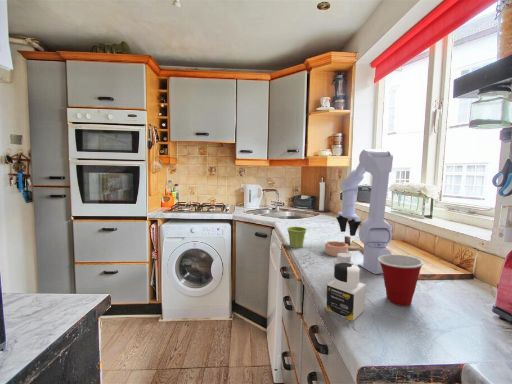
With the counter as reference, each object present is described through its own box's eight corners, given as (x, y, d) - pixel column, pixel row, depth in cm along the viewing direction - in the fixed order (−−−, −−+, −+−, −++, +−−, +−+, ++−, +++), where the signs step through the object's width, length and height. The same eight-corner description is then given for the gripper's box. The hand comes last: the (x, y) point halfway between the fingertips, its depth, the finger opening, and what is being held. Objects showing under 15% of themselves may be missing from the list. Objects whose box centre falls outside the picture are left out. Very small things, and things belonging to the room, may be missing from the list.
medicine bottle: (325, 310, 64) (327, 265, 63) (339, 300, 69) (340, 258, 68) (352, 322, 59) (354, 273, 58) (364, 310, 64) (366, 265, 63)
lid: (365, 249, 113) (365, 239, 113) (343, 251, 110) (344, 240, 110) (350, 243, 124) (350, 233, 123) (330, 244, 121) (330, 234, 121)
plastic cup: (381, 287, 77) (382, 249, 76) (423, 299, 70) (425, 257, 69) (371, 301, 68) (373, 259, 67) (418, 316, 61) (420, 269, 61)
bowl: (351, 256, 105) (352, 246, 104) (332, 258, 103) (333, 248, 102) (339, 250, 113) (340, 240, 113) (322, 251, 111) (322, 242, 111)
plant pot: (309, 246, 120) (310, 228, 119) (300, 250, 113) (300, 232, 112) (293, 242, 126) (293, 225, 125) (282, 246, 119) (283, 229, 118)
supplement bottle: (348, 282, 80) (349, 251, 79) (355, 291, 75) (356, 257, 74) (331, 282, 80) (332, 251, 79) (336, 290, 75) (337, 257, 74)
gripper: (366, 206, 109) (365, 237, 111) (347, 202, 124) (346, 229, 125) (352, 207, 108) (351, 237, 109) (334, 203, 122) (333, 230, 123)
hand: (347, 233), depth 117 cm, fingers open, 7 cm apart
